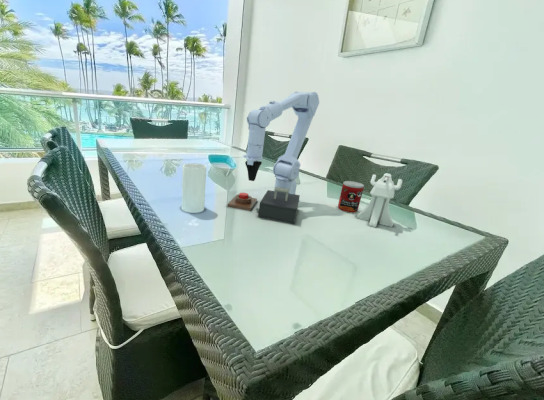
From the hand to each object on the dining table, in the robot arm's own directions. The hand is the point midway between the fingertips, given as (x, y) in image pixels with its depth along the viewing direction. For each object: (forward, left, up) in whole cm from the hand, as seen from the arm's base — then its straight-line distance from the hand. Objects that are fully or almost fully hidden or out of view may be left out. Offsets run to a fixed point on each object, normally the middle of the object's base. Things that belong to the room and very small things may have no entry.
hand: (251, 180), depth 104 cm
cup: (+21, -9, -10) cm, 25 cm away
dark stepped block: (-4, +11, -10) cm, 16 cm away
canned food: (-33, +24, -10) cm, 43 cm away
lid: (-5, +11, -5) cm, 13 cm away
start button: (+1, -3, -8) cm, 8 cm away
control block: (+1, -3, -10) cm, 11 cm away
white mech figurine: (-29, +36, -10) cm, 48 cm away
